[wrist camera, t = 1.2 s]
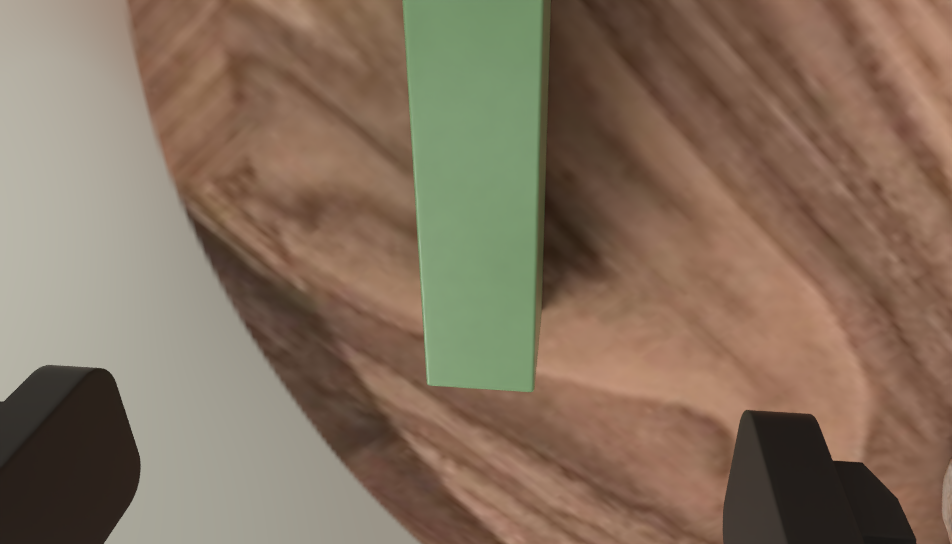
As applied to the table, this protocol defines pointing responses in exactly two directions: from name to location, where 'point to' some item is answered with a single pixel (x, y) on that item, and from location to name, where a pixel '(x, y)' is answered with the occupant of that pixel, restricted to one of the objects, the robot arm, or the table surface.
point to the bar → (479, 184)
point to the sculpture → (947, 500)
